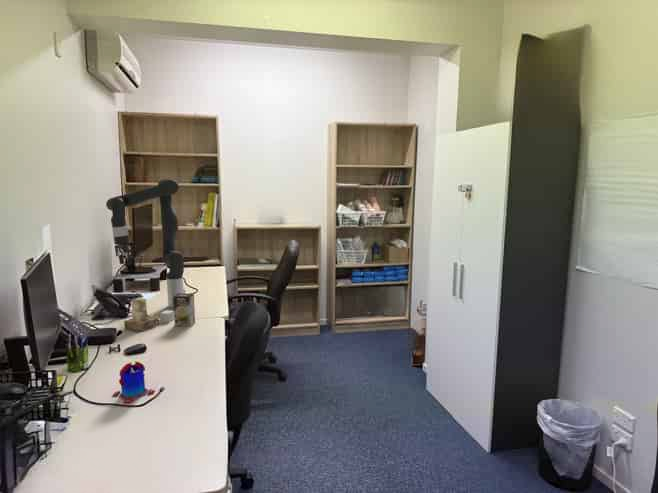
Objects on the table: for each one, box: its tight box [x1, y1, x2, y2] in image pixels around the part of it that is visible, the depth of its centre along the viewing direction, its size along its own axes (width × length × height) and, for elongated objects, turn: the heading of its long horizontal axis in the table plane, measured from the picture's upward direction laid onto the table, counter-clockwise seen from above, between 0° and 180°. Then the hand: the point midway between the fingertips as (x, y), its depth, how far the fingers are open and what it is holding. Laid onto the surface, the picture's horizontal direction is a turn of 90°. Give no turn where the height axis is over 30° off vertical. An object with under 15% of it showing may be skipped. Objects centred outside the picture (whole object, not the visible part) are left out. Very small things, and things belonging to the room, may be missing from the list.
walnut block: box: [123, 315, 158, 333], centre depth 229 cm, size 11×11×4 cm
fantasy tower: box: [111, 361, 156, 405], centre depth 158 cm, size 12×12×12 cm
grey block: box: [159, 309, 175, 323], centre depth 239 cm, size 5×5×5 cm
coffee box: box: [173, 292, 196, 327], centre depth 232 cm, size 9×6×16 cm
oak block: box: [130, 296, 148, 322], centre depth 228 cm, size 5×5×11 cm
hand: (126, 264), depth 240 cm, fingers open, 8 cm apart
